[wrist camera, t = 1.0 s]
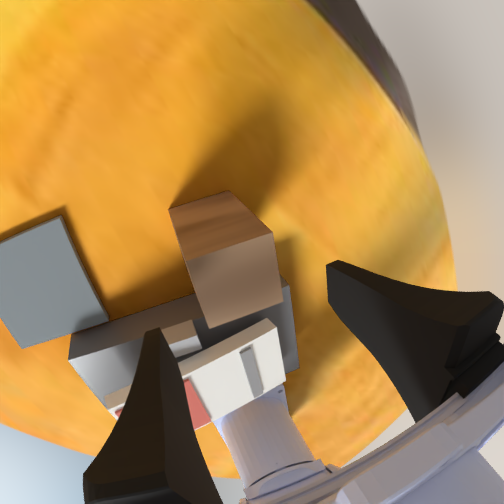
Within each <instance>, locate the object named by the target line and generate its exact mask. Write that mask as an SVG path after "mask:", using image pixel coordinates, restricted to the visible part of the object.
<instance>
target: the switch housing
mask: <svg viewBox="0 0 504 504" xmlns="http://www.w3.org/2000/svg"><path fill="white" fill-rule="evenodd" d="M279 275H280V274H279ZM280 281H281V288H282V294H283V302H281V303H278V304H275V305H273V306H270V307H268V308H265V309H262V310H260V311H257V312H254V313H252V314H249V315H246V316H244V317H241V318H238V319H235V320H233V321H230V322H227V323H224V324H222V325H219V326H216V327H213V328H210V329H209V327H208V324H207V322H206V319H205V316H204V314H203V311H202V308H201V306H200V303H199V300H198V298H197V295H196V293H194V294H191V295H188V296H185V297H182V298H179V299H176V300H174V301H171V302H168V303H165V304H162V305H159V306H156V307H153V308H150V309H147V310H144V311H141V312H138V313H135V314H132V315H129V316H126V317H123V318H120V319H117V320H114V321H111V322H108V323H105V324H102V325H99V326H96V327H93V328H89V329H86V330H83V331H80V332H77V333H74V334H71V341H70V349H69V357H68V361H69V362H70V364H71V365H72V366H73V368H74V369H75V370H76V372H77V373H78V374H79V376H80V377H81V378H82V379H83V381H84V382H85V383H86V384H87V386H88V387H89V388H90V389H91V391H92V392H93V393H94V394H95V396H96V397H97V398H98V399H99V400H100V401H101V403H102V404H103V405H104V406H105V407H106V408H107V405H106V402H105V398H104V396H106V395H108V394H111V393H113V392H115V391H118V390H120V389H122V388H124V387H127V386H129V385H131V384H132V382H133V378H134V375H135V372H136V368H137V364H138V360H139V356H140V352H141V347H142V342H143V337H144V334H145V332H146V331H149V330H152V329H155V328H158V327H160V329H161V331H162V333H163V335H164V337H165V339H166V341H167V343H168V345H169V347H170V349H171V350H172V352H173V354H174V356H175V358H176V360H177V362H178V363H179V362H181V361H183V360H185V359H187V358H189V357H191V356H193V355H195V354H197V353H199V352H201V351H203V350H205V349H207V348H209V347H211V346H213V345H215V344H217V343H219V342H221V341H223V340H225V339H227V338H229V337H231V336H233V335H235V334H237V333H239V332H241V331H243V330H245V329H247V328H249V327H250V326H252V325H254V324H256V323H258V322H260V321H262V320H264V319H265V318H268V319H269V320H270V321H271V322H272V323H273V324H274V325H275V326H276V327H277V332H278V337H279V343H280V349H281V354H282V360H283V366H284V372H285V374H287V373H289V372H291V371H294V370H296V369H298V368H299V359H298V351H297V342H296V334H295V326H294V318H293V310H292V303H291V295H290V287H289V284H288V283H287V282H286V281H285V280H284V278H283V277H282V276H281V275H280ZM107 410H108V409H107ZM228 414H229V413H228Z"/></svg>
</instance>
